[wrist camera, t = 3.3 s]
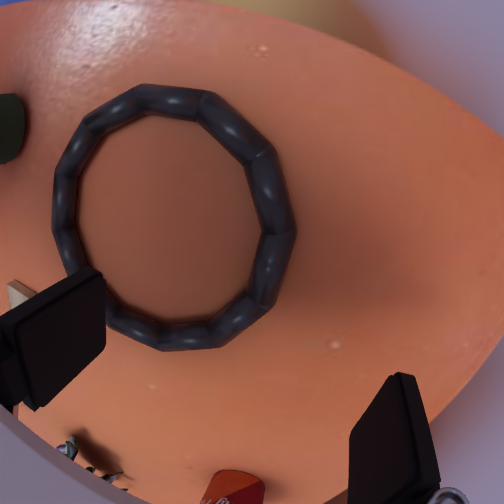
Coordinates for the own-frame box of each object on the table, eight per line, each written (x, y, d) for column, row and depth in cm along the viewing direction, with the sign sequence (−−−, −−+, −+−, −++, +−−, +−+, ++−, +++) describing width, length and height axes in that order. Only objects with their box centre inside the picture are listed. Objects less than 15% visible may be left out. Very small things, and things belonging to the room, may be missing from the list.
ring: (63, 292, 22) (49, 301, 21) (81, 83, 17) (64, 80, 15) (252, 372, 20) (246, 388, 19) (329, 119, 15) (330, 115, 13)
